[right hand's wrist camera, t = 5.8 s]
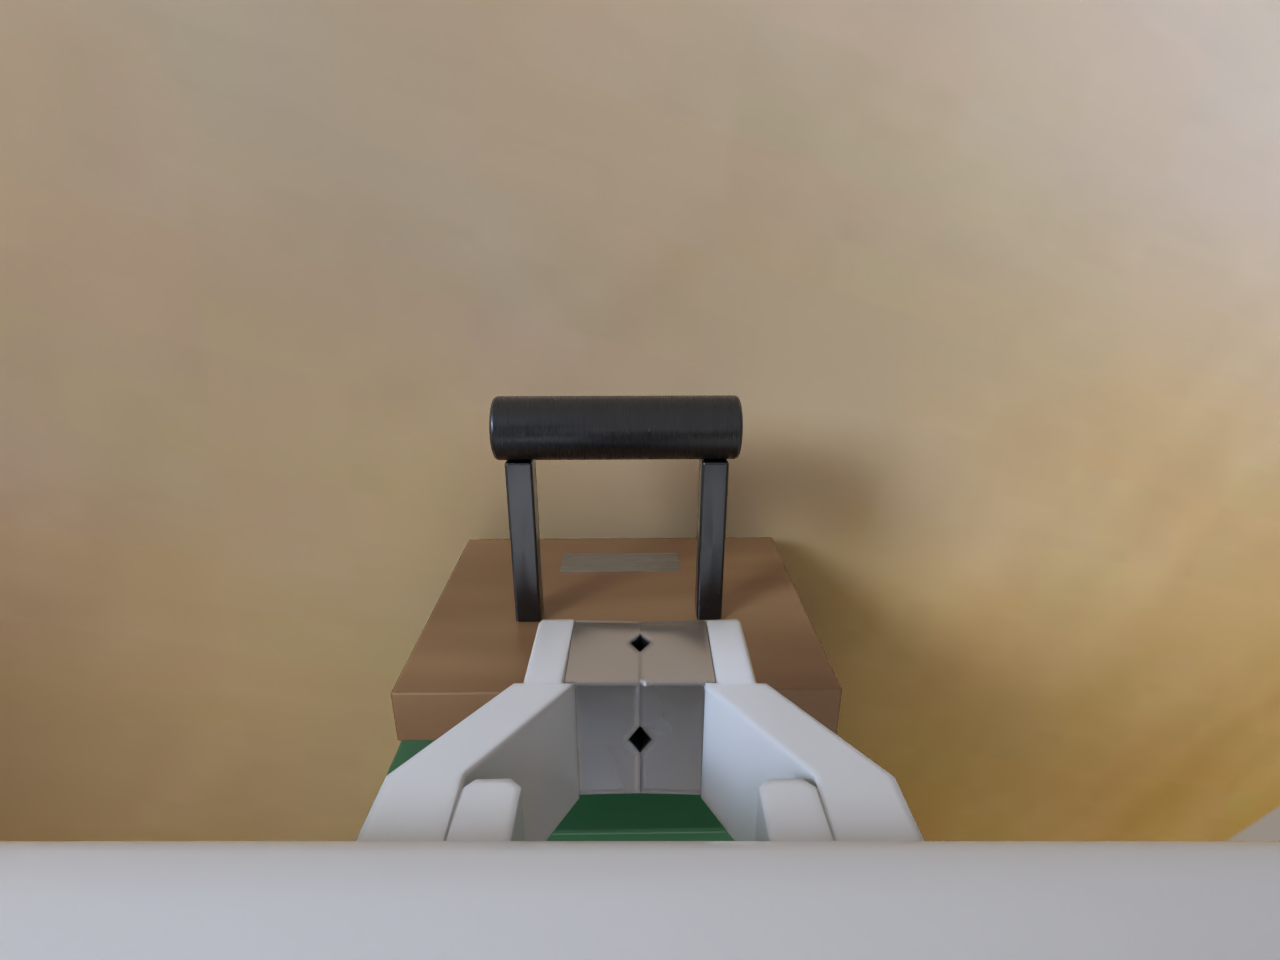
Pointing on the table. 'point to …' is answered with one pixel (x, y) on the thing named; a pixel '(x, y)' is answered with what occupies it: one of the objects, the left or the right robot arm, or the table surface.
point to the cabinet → (622, 814)
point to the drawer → (607, 564)
